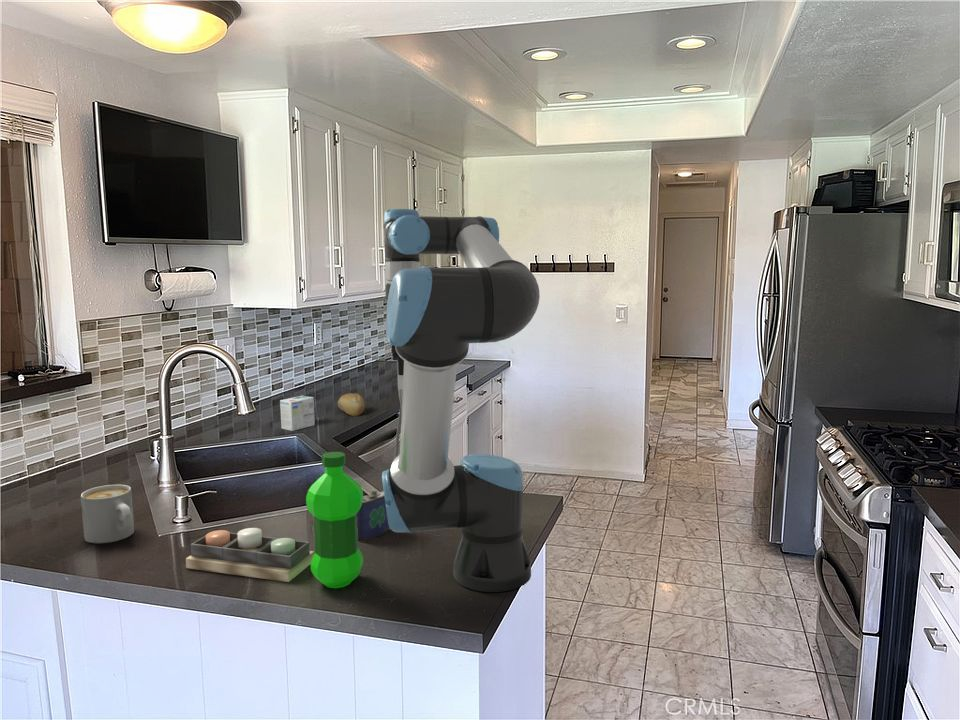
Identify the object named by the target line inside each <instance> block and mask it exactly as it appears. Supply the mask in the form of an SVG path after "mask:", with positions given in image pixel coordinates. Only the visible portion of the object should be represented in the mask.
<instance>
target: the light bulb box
mask: <svg viewBox="0 0 960 720" xmlns="http://www.w3.org/2000/svg"><path fill="white" fill-rule="evenodd" d="M314 401H315V399H314V397H313V396H307V395H299V396H294V397H289V398H285V399H280V400H279V407H280V423H281V424H280V425H281V427H280V428H281V429H283V430H287V431H290V432H291V431H292V432H294V431H297V430H301V429H306V428H310V427H313V426H315V422H316V421H315V420H316V419H315V402H314Z"/></svg>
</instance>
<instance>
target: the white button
mask: <svg viewBox="0 0 960 720" xmlns="http://www.w3.org/2000/svg"><path fill="white" fill-rule="evenodd" d="M236 533H237V535H238V547H240V548H243V549H250V548H255V547H258V546H260V545H261V544H262V536H263V533H262V529H261V528H259V527H247V528H243V529H240V530H238V531H237V532H236Z"/></svg>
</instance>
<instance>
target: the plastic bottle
mask: <svg viewBox="0 0 960 720" xmlns="http://www.w3.org/2000/svg"><path fill="white" fill-rule="evenodd" d="M345 465H346V453H344V452H342V451H329V452H326V453H322V455H321V466H322V467H324V472H325V473H323V474H322V475H321V476H320V477H318V478H317V480H315V482H314V483H312V484H311V486H310V487H309V488H308V490H307V493H306V496H305V503H306V504H305V505H306V509H307V511H308V512H309V513H310V514H311V515H312V516H313V526H314V529H313V530H314V556H313V558H312V561H311V564H310V571H311V573H312V576H313V577H315V579H317V580H318V582H320V583H322V584H323V585H324V586H325V587H326V588H331V589H340V588H344V587H347V586H349V585H350V584H352V582H353V581H354V580H355V579H357V577H358V576H359V575H360V572H361V570H362V566H363V564H364V556H363V554H362V552H361V550H360V548H359V547H358V546H359V545H358V544H359V543H358V542H359V541H358V529H357V512H358V511H359V510H360V508H361V505H362V501H363V498H364V491H363V488H362V485H361V484H360V483H359V482H357V480H355V479H354V478H352V477H351V476H350V475H348V474H347V473H346V472H344V471H343V469H344V468H343V467H344V466H345Z"/></svg>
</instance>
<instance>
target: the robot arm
mask: <svg viewBox="0 0 960 720" xmlns="http://www.w3.org/2000/svg"><path fill="white" fill-rule="evenodd" d="M383 215H384V216H383V221H384V222H383V230H384V257H385V258H384V265H385V266H384V267H383V271H385V273H384V274H385V276H384V277H385V281H386V282H387V281H388V282H387V283H386V284H385V299H386V300H387V304H386V318H385V332H386V333H385V334H386V339H387V342H388V343H389V344H390V346H391V354H392V360H393V361H396V365H397V367H396V369H397V390H399V389H400V390H403V396H402V417H401V427H400V434H401V439H400V438H399V453H398V456H397V457H396V458H395V457H394V459H393V461H392V463H391V466H390V468H388V469H386V470H384V471H382V472H381V481H382V487H383V488H382V491H383V492H384V497H385V504H386V512H387V518H388V524H389V527H390V528H389V530H391V531H392V532H394V533H397V534H398V533H410V534H412V533H418V532H419V533H421V532H429V531H440V530H449V529H451V530H452V529H460V528H461V540H460V542H459V545H458V548H457V551H456V554H455V557H454V561H453V567H452V568H453V569H452V570H453V572H452V573H453V575H452V576H453V579H454V580H455V582H456V583H457V584H459V585H461V586H462V587H465V588H467V589H468V590H469V589H470V590H473V591H478V592H482V593H483V592H484V593H485V592H486V593H501V592H508V591H512V590H515V589H519V588H521V587H524V585H526V584H527V583H528V582H529V581H530V580H531V577H532V563H531V560H530V557H529V553H528V550H527V547H526V544H525V541H524V538H523V495H524V494H523V491H524V484H523V483H524V482H523V472H522V468H521V466H520V465H519V464H518V463H516V462H515V461H514V460H511V459H509V458H506V457H503V456H499V455H494V454H487V453H470V454H467V455H465V456H464V455H463V457H462V458H461V461H460V465H454V464H453V462H452V460H451V459H450V458H449V449H450V448H449V447H450V439H451V430H452V429H451V428H452V419H453V411H454V402H455V401H454V400H455V399H454V398H455V389H456V382H457V381H456V378H457V369H458V365H459V364H460V363H462V362H463V361H464V360H465V359H466V358H467V356H468V354H469V346H470V344H486V343H488V344H489V343H498V342H501V341H504V340H507V339H511V338H512V337H514V336H515V335H518V334H519V333H520V332H522V330H523V329H525V327H527V326H528V325H529V323H531V321H532V319H533V318H534V316H535V314H536V312H537V309H538V307H539V304H540V287H539V283H538V280H537V279H536V277H535V275H534V273H533V272H532V271H531V270H530V269H529V268H528V267H527V265H526V264H523V262H520V261H518V260H516V259H513V258H512V257H511V255H510V254H508V253H509V252H507V250H505V249H504V247H503V246H502V245H501V244H500V227H499V225H498V221H497V220H496V219H495V218H493V217H487V216H485V217H484V216H480V215H478V216H427V215H426V216H424V215H423V216H420V215H419V212H418V210H416V209H412V208H410V209H409V208H391V209H386V210H385V212H384V214H383ZM420 255H459V256H460V258H461V259H462V261H463V262H464V265H466V267H429V266H425V265H424V266H421V262H420Z"/></svg>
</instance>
